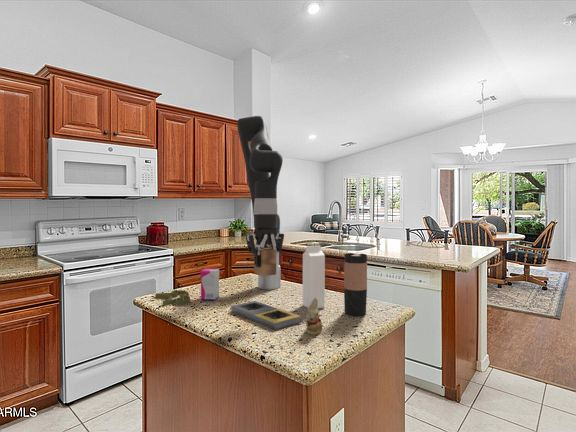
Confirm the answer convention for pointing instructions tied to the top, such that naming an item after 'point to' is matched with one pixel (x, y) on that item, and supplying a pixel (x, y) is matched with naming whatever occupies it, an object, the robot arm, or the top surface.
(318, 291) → the milk
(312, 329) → the chocolate bunny
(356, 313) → the travel mug
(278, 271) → the robot arm
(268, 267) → the block
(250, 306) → the gray slotted board
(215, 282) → the supplement box
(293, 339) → the top surface
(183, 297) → the cookie cutter
